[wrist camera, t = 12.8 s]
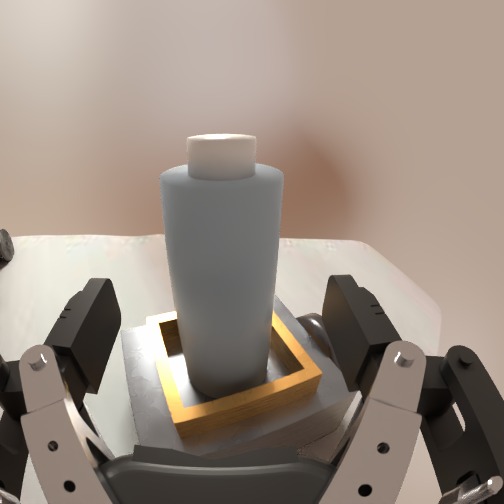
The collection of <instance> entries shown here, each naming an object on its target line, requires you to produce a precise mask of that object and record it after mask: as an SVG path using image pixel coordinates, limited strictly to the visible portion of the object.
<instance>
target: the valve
mask: <svg viewBox="0 0 504 504" xmlns="http://www.w3.org/2000/svg"><path fill="white" fill-rule="evenodd" d="M13 255H14V247H13V243H12V240H11V238H10V236H9V234H8V232H7V231H6V230H4V229H2V230H0V258H1V257H4V259H5V260H6V261H10V260H12V258H13Z"/></svg>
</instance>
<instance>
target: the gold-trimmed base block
mask: <svg viewBox="0 0 504 504" xmlns="http://www.w3.org/2000/svg"><path fill="white" fill-rule="evenodd" d="M146 320H147V325H146V326H141V327H136V328H131V329H126V330H121V340H122V349H123V357H124V364H125V371H126V377H127V383H128V389H129V395H130V400H131V405H132V410H133V415H134V420H135V425H136V429H137V433H138V437H139V441H140V445H141V446H148V447H157V448H168V449H174V450H178V451H181V452H185V453H188V454H192V455H196V456H199V457H203V458H208V459H220V458H224V457H229V456H233V455H237V454H240V453H244V452H248V451H252V450H255V449H268V448H279V447H288V446H296V449H298V448H300V447H303V446H305V445H307V444H309V443H311V442H313V441H315V440H317V439H319V438H321V437H323V436H325V435H327V434H329V433H331V432H333V431H334V430H336V429H337V427H338V426H339V424H340V422H341V421H342V419H343V417H344V415H345V414H346V412H347V410H348V408H349V406H350V405H351V403H352V401H353V399H354V397H355V395H356V393H357V391H354V392H349V391H348V389H347V386H346V383H345V380H344V377H343V375H342V372H341V369H340V367H339V364H338V361H337V358H336V356H335V353H334V350H333V348H332V345H331V342H330V340H329V337H328V335H327V332H326V329H325V327H324V324H323V319H322V316H321V315H319V314H316V313H310V314H307V315H304V316H301V317H298V318H295V317H294V316H293V315H292V314H291V313H290V311H289V310H288V309H287V308H286V307H285V305H284V304H283V303H282V302H281V301H280V300H279V298H278V297H277V296H276V295H274V305H273V316H272V326H271V336H270V346H269V355H268V364H267V372H266V376H265V379H264V381H263V383H262V384H261V385H260V386H258V387H255V388H252V389H249V390H246V391H243V392H240V393H237V394H233V395H230V396H227V397H224V398H220V399H218V398H213V397H210V396H208V395H206V394H204V393H202V392H200V391H199V390H198V389H196V388H195V386H194V385H193V384H192V383H191V381H190V379H189V377H188V373H187V369H186V364H185V359H184V355H183V350H182V345H181V339H180V334H179V329H178V323H177V317H176V312H171V313H166V314H162V315H157V316H152V317H147V318H146Z"/></svg>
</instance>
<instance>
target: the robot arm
mask: <svg viewBox="0 0 504 504" xmlns="http://www.w3.org/2000/svg"><path fill="white" fill-rule="evenodd" d="M322 319H323V324H324V327H325V329H326V332H327V335H328V337H329V340H330V342H331V345H332V348H333V350H334V353H335V356H336V358H337V361H338V364H339V367H340V369H341V372H342V375H343V377H344V380H345V383H346V386H347V389H348V391H349V392H354V391H359V390H360V392H361V394H362V398H361V399H360V401H359V404H358V406H357V408H356V410H355V413H354V415H353V417H352V419H351V421H350V424H349V426H348V428H347V430H346V432H345V434H344V436H343V438H342V440H341V442H340V444H339V445H338V447H337V449H336V450H335V452H334V454H333V455H332V457H331V459H330V461H329V462H326V461H323V460H321V459H318V458H314V457H310V456H305V455H297V450H296V446H288V447H279V448H268V449H255V450H252V451H248V452H244V453H240V454H237V455H233V456H229V457H224V458H220V459H208V458H203V457H199V456H196V455H192V454H188V453H185V452H181V451H178V450H174V449H168V448H157V447H148V446H140V445H135V446H134V453H133V454H129V455H125V456H121V457H117V458H115V456H114V455H113V454H112V452H111V451H110V449H109V448H108V447H107V445H106V444H105V442H104V440H103V438H102V436H101V434H100V432H99V430H98V428H97V426H96V424H95V422H94V420H93V418H92V415H91V413H90V411H89V409H88V407H87V404H86V402H85V401H84V396H85V393H91V394H97V393H98V390H99V387H100V384H101V380H102V377H103V374H104V371H105V368H106V365H107V362H108V359H109V356H110V354H111V351H112V348H113V345H114V342H115V340H116V337H117V334H118V331H119V329H120V326H121V312H120V308H119V305H118V302H117V298H116V295H115V291H114V288H113V284H112V281H111V280H110V279H108V278H91V279H90V280H89V281H88V283H87V284H86V286H85V287H84V289H83V291H79V292H78V293H77V294H75V295H74V296H73V297H72V298H71V299H70V300H69V301H68V303H67V305H66V306H65V308H64V310H63V311H62V313H61V314H60V318H58V319H57V321H56V323H55V324H54V326H53V328H52V330H51V331H50V333H49V335H48V337H47V339H46V340H45V342H44V344H43V345H36V346H33V347H31V348H29V349H28V350H27V351H26V352H25V353H24V354H23V355H22V357H21V359H20V360H18V361H9V362H5V361H4V359H3V358H2V356H1V355H0V407H1V408H2V409H3V410H4V412H3V415H2V418H1V420H0V504H21V503H20V496H21V489H22V483H23V478H24V472H25V467H26V463H27V458H28V454H30V457H31V460H32V463H33V466H34V469H35V472H36V474H37V477H38V480H39V483H40V485H41V488H42V490H43V493H44V495H45V497H46V500H47V502H48V504H394V503H395V501H396V499H397V496H398V494H399V491H400V489H401V486H402V483H403V481H404V478H405V475H406V472H407V469H408V466H409V463H410V460H411V457H412V454H413V451H414V447H415V444H416V440H417V436H418V433H419V429H420V430H421V432H422V435H423V438H424V441H425V443H426V446H427V449H428V452H429V455H430V458H431V461H432V464H433V467H434V470H435V473H436V477H437V480H438V483H439V486H440V490H441V493H442V498H441V499H440V501H439V503H438V504H504V400H503V399H502V397H501V395H500V393H499V391H498V390H497V388H496V386H495V384H494V383H493V381H492V379H491V377H490V376H489V374H488V372H487V371H486V369H485V367H484V366H483V364H482V363H481V361H480V359H479V358H478V356H477V355H476V354H475V353H474V352H473V351H472V350H471V349H469V348H467V347H465V346H461V345H459V346H458V345H457V346H453V347H451V348H450V349H449V350H448V352H447V354H446V356H445V357H438V356H425V354H424V353H423V351H422V350H421V349H420V348H419V347H418V346H417V345H415V344H413V343H411V342H408V341H402V339H401V338H400V336H399V334H398V333H397V331H396V329H395V328H394V326H393V324H392V323H391V321H390V320H389V318H388V316H387V315H386V314H385V312H384V310H383V309H382V307H381V306H380V304H379V302H378V301H377V299H376V298H375V296H374V295H373V294H372V293H370V292H369V291H368V290H367V289H365V288H364V287H358V285H357V283H356V282H355V280H354V279H353V277H352V276H351V275H331V276H330V277H329V280H328V284H327V289H326V294H325V299H324V304H323V309H322ZM455 402H456V404H457V406H458V408H459V410H460V412H461V414H462V417H463V419H464V421H465V431H463V429H462V426H461V424H460V422H459V420H458V417H457V415H456V413H455V411H454V409H453V406H452V405H453V404H454V403H455Z"/></svg>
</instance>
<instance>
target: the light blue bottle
mask: <svg viewBox="0 0 504 504" xmlns="http://www.w3.org/2000/svg"><path fill="white" fill-rule="evenodd" d="M283 179H284V175H283V173H282V172H281V171H280V170H278V169H276V168H273V167H270V166H267V165H263V164H257V163H256V137H254V136H249V135H239V134H209V135H198V136H193V137H188V138H187V164H186V165H181V166H178V167H174V168H171V169H169V170H167V171H165V172H163V173H162V174H161V175H160V189H161V202H162V212H163V222H164V232H165V241H166V250H167V258H168V265H169V273H170V280H171V287H172V293H173V300H174V306H175V312H176V317H177V323H178V329H179V334H180V339H181V345H182V350H183V355H184V359H185V364H186V369H187V373H188V377H189V379H190V381H191V383H192V384H193V385H194V386H195V388H196V389H198V390H199V391H200V392H202V393H204V394H206V395H208V396H210V397H213V398H218V399H220V398H224V397H227V396H230V395H233V394H237V393H240V392H243V391H246V390H249V389H252V388H255V387H258V386H260V385H261V384H262V383H263V381H264V379H265V376H266V372H267V364H268V355H269V346H270V336H271V326H272V316H273V305H274V294H275V283H276V272H277V260H278V248H279V235H280V223H281V208H282V194H283Z"/></svg>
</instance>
